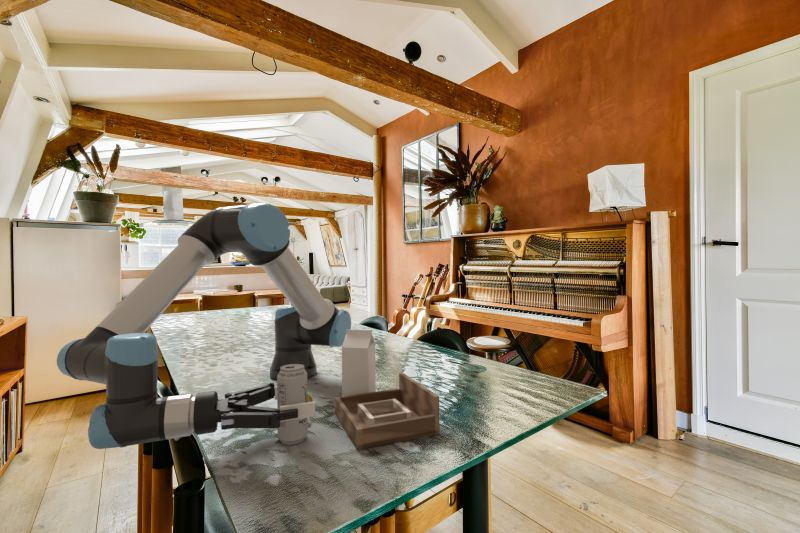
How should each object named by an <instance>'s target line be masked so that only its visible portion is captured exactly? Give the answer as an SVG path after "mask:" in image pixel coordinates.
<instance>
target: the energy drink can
mask: <svg viewBox="0 0 800 533" xmlns="http://www.w3.org/2000/svg"><path fill="white" fill-rule="evenodd" d="M276 380H277V382H276V386H277V401H276V402H277V403H276V404H277V405H276V406H277V407H276V408H278V409H280V406H284V405H291V404H298V403H306V402H308V394H309V393H308V392H309V391H308V378H307V372H306V370H305V369H304V365H302V364H288V365H284V366H282V367H280V372H279V374H278V376H277V379H276ZM308 420H309V417H308V418H302V419H296V420H289V421H283V422H280V427H279V428H277V439H278V440H280V443H281V444H282V445H287V446H289V445H290V446H291V445H297V444H300V443H302V442H303V441H304V440H306V437H307V435H308V433H309V431H308V430H309V427H308V426H309V423H308V422H309V421H308Z"/></svg>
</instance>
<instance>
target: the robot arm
mask: <svg viewBox="0 0 800 533" xmlns="http://www.w3.org/2000/svg"><path fill="white" fill-rule="evenodd" d="M289 227H290V223H289V220H288V218H287V216H286V215H285V213H284V212H283V211H282V210H281V209H280V208H279V207H277V206H276V205H274V204H271V203H266V202H265V203H263V202H251V203H247V204H239V205H230V206H220V207H216V208H214V209H212V210H210V211H208V212H206V214H204V215H202V216H201V217H200V218H199V219H198V220H196V221H195V222H194V223H192V225H190V226H189V227H188V228H187V229H186V230H185V231H184V232H183V233H182V234H181V235H180V236H179V237H178V239H177V246H175V247H174V249H172V250H171V251H170V253H169V254H168V255H166V256H165V258H164V259H163V260H162V261H160V262H159V263H158V264H157V266H156V267H154V268H153V270H151V271H150V272H149V274H148V275H147V276H145V278H143V279H142V280H141V282H140V283H138V285H136V286H135V287H134V288H133V289H132V290H131V291H130V292H129V294H128V295H126V297H125V298H124V299H122V301H120V302H119V303H118V305H116V306H115V307H114V309H112V310H111V311H110V312H109V314H108V315H106V317H104V318H103V319H102V321H101V322H99V323H98V324H97V326H95V328H94V329H93V330H92V331H90V333H88V334H87V335H86V336H85V337H84V338H83V337H82V338H78V339H74V340H71V341H70V342H68V343H67V344H65V345H63V347H62V348H61V349H60V350H59V352H58V354H57V356H56V366H57V368H58V370H59V371H60V373H61V374H63V375H65V376H67V377H70V378H72V379H73V380H78V381H87V382H91V383H92V382H94V383H97V384H100V385H101V384H102V385H104V386H105V388H106V390H105V391H106V392H105V393H106V397H105V398H106V400H105V403H102V404H99V405H97V406H95V407H94V409H93V410H92V412H91V414H90V416H89V417H90V418H89V421H88V423H89V426H88V428H87V435H88V436H87V438H88V442H89V445H90V446H91V447H92V448H93V449H96V450H104V449H115V448H120V449H121V448H126V447H129V446H134V445H140V444H146V443H152V442H158V441H165V440H171V439H173V440H174V441H179V440H180V439H181V438H183V437H190V436H191V435H192V434H193V433H194V434H195V435H196V436H198V435H205V434H212V433H216V432H217V430H218V424H219V423H220V424H221V425H220V429H221V430H230V429H278V428H279V427H280V422H283V421H289V420H296V419H302V418H308V419H309V418H313V417H316V401H313V402H306V403H298V404H291V405H284V406H280V409H278V408H277V407H276V408H275V407H269V406H267V407H266V406H265V407H264V406H258V405H259V404H262V403H265V402H267V401H269V400H272V399H274V400H275V401H276V400H277V385H276V386H275V383H274V382H269V383H267V384H262V385H259V386H255V387H251V388H250V387H249V388H246V389H242V390H237V391H233V392H226V393H225V394H224V398H222V399H219V395H218V394H219V393H218V391H217V390H213V391H212V390H211V391H205V392H204V391H203V392H197V394H195V396H194V393H185V394H178V395H177V394H176V395H169V396H163V397H161V396H160V397H158V372H159V371H158V368H159V356H160V354H159V352H158V343H157V342H158V341H157V340H158V339H157V336H156V335H154V333H150V332H147V330H149V328H150V327H151V326H152V325H153V324H154V323H155V321H156V320H157V319H158V318H159V317H160V316H162V314H163V313H164V312H165V310H167V308H168V307H169V306H170V305H171V304H172V303H173V301H175V299H176V298H177V297H178V296H179V295H180V294H181V293H182V291H183V290H184V289H185V288H186V287H187V286H188V285H189V284H190V282H191V281H192V280H194V278H195V277H196V276H197V275H198V274H199V273H200V272H201V270H202V269H203V268H204V267H205V266H209V265H212V264H214V263H215V261H216V260H217V259H218V258H219V257H221V256H222V255H225V254H229V253H241V254H242V255H243V256H244V257H245V258H246V260H247V261H248V262H249V264H250V265H252V266H254V267H261V268H262V270H263V271H264V272H265V273H266V275H267V276H268V277H269V278H270V280H271V281H272V282H273V284H274V285H275V286H276V287H277V289H278V290H279V291H280V292H281V293H282V295H283V296H284V298H285V299H286V300H287V301H288V302H289V303H290V305H291V306H284V307H283V306H281V307H278V308H277V309H276V310H275V312H274V313H275V314H274V316H275V317H274V338H275V339H274V340H275V341H274V342H275V343H274V346H275V349H274V350H275V352H274V355H273V359H272V362H271V364H270V368H269V377H270V378H271V379H274V380H277V376H278V374H279V372H280V367H282V366H284V365H288V364H302V365H304V369H305V370H306V372H307V379H308V378H310V377H313V376H315V375H316V374H317V372H318V371H317V370H318V369H317V367H318V366H317V363H316V360H315V357H314V354H313V351H312V346H322V347H329V348H339V347H342V345H343V342H344V339H345V336H346V330H352V318H351V314H350V313H349V311H348V310H345V309H338V308H337V306H336V305H335V304H334V303H333V301H332V300H331V299H329V298H324V297H323V295H322V294H321V292H320V291H319V289H318V288H317V287H316V285H315V283H313V280H311V278H310V277H309V275H308V273H307V272H306V271H305V269H304V268H303V267H302V265H301V263H299V261H298V260H297V258H296V257H295V255H294V253H292V251H291V249H290V248H289V247H290V244H291V239H290V238H291V230H290V228H289Z"/></svg>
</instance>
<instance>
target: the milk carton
mask: <svg viewBox="0 0 800 533" xmlns="http://www.w3.org/2000/svg"><path fill="white" fill-rule="evenodd" d="M376 366H377V365H376V341H375V339H374V336H373V329H351V330H346V336H345V339H344V342H343V345H342V346H341V396H348V395H356V394H363V393H370V392H377V390H376V388H377V387H376V386H377V382H376V381H377V380H376V378H377V377H376V368H377V367H376Z"/></svg>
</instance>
